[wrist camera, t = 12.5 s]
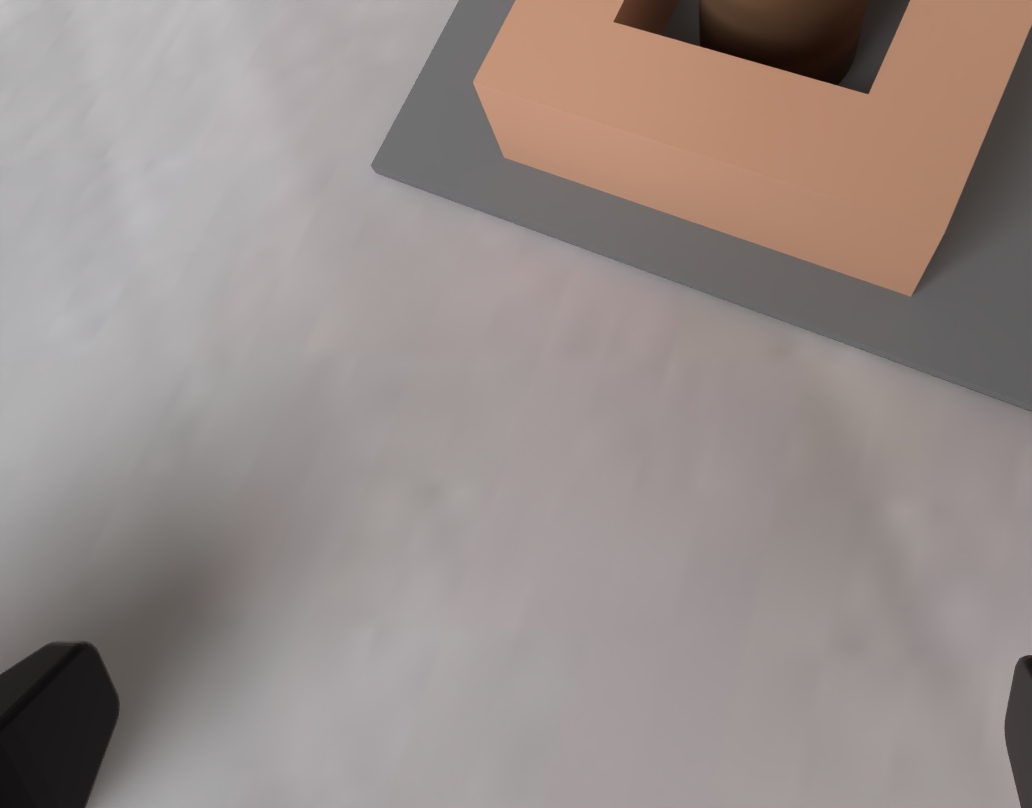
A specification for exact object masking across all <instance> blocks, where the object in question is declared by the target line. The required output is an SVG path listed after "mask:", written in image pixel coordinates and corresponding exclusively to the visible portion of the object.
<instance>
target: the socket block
mask: <svg viewBox="0 0 1032 808" xmlns="http://www.w3.org/2000/svg"><path fill="white" fill-rule="evenodd" d="M677 2H678V0H515V2H514V4H513V6H512V8H511V10H510V12H509V14H508V16H507V18H506V19H505V21H504V23H503V25H502V27H501V29H500V31H499V33H498V35H497V37H496V39H495V41H494V42H493V44H492V46H491V48H490V50H489V52H488V54H487V56H486V58H485V60H484V62H483V63H482V65H481V67H480V69H479V71H478V73H477V75H476V77H475V79H474V81H473V84H474V87H475V89H476V91H477V94H478V96H479V99H480V101H481V103H482V106H483V108H484V111H485V113H486V115H487V118H488V120H489V123H490V125H491V127H492V130H493V132H494V135H495V137H496V139H497V142H498V144H499V147H500V149H501V151H502V154H503V156H504V158H507V159H510V160H513V161H516V162H519V163H521V164H524V165H527V166H530V167H533V168H536V169H539V170H542V171H545V172H548V173H551V174H554V175H557V176H559V177H562V178H565V179H568V180H571V181H574V182H577V183H580V184H583V185H586V186H589V187H592V188H594V189H597V190H600V191H603V192H606V193H609V194H612V195H615V196H618V197H621V198H624V199H627V200H630V201H632V202H635V203H638V204H641V205H644V206H647V207H650V208H653V209H656V210H659V211H662V212H665V213H668V214H670V215H673V216H676V217H679V218H682V219H685V220H688V221H691V222H694V223H697V224H700V225H703V226H706V227H708V228H711V229H714V230H717V231H720V232H723V233H726V234H729V235H732V236H735V237H738V238H741V239H744V240H746V241H749V242H752V243H755V244H758V245H761V246H764V247H767V248H770V249H773V250H776V251H779V252H782V253H784V254H787V255H790V256H793V257H796V258H799V259H802V260H805V261H808V262H811V263H814V264H817V265H820V266H822V267H825V268H828V269H831V270H834V271H837V272H840V273H843V274H846V275H849V276H852V277H855V278H858V279H860V280H863V281H866V282H869V283H872V284H875V285H878V286H881V287H884V288H887V289H890V290H893V291H896V292H898V293H901V294H904V295H907V296H910V297H911V296H912V294H913V292H914V290H915V288H916V286H917V284H918V282H919V281H920V279H921V277H922V275H923V273H924V271H925V269H926V267H927V265H928V263H929V262H930V260H931V258H932V256H933V254H934V252H935V250H936V248H937V246H938V245H939V243H940V241H941V239H942V237H943V235H944V233H945V231H946V229H947V226H948V224H949V221H950V219H951V217H952V214H953V212H954V209H955V207H956V205H957V202H958V200H959V197H960V195H961V193H962V190H963V188H964V185H965V183H966V181H967V178H968V176H969V174H970V171H971V169H972V166H973V164H974V162H975V159H976V157H977V154H978V152H979V150H980V147H981V145H982V142H983V140H984V138H985V135H986V133H987V130H988V128H989V126H990V123H991V121H992V118H993V116H994V114H995V111H996V109H997V107H998V104H999V102H1000V99H1001V97H1002V95H1003V92H1004V90H1005V87H1006V85H1007V83H1008V80H1009V78H1010V75H1011V73H1012V71H1013V68H1014V66H1015V63H1016V61H1017V59H1018V56H1019V54H1020V52H1021V49H1022V47H1023V44H1024V42H1025V40H1026V37H1027V35H1028V32H1029V30H1030V28H1031V25H1032V0H910V2H909V4H908V7H907V9H906V11H905V13H904V16H903V18H902V20H901V22H900V25H899V27H898V29H897V31H896V34H895V36H894V38H893V40H892V43H891V45H890V47H889V49H888V52H887V54H886V56H885V58H884V61H883V63H882V65H881V67H880V70H879V72H878V74H877V76H876V79H875V81H874V83H873V85H872V88H871V90H870V92H869V94H865V93H862V92H858V91H854V90H851V89H847V88H844V87H840V86H837V85H833V84H830V83H826V82H823V81H819V80H816V79H812V78H809V77H805V76H802V75H798V74H795V73H791V72H788V71H784V70H781V69H777V68H773V67H770V66H766V65H763V64H759V63H756V62H752V61H749V60H745V59H742V58H738V57H735V56H731V55H728V54H724V53H721V52H717V51H714V50H710V49H707V48H703V47H700V46H696V45H692V44H689V43H685V42H682V41H678V40H675V39H671V38H668V37H664V36H661V35H662V33H663V31H664V29H665V27H666V25H667V23H668V21H669V19H670V17H671V15H672V13H673V11H674V9H675V6H676V4H677Z"/></svg>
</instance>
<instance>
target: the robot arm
mask: <svg viewBox="0 0 1032 808" xmlns="http://www.w3.org/2000/svg"><path fill="white" fill-rule="evenodd" d="M118 715H119V697H118V694H117V691H116V689H115V687H114V684H113V682H112V680H111V678H110V676H109V673H108V671H107V669H106V667H105V665H104V662H103V660H102V658H101V656H100V653H99V651H98V650H97V648H96V647H95V646H94V645H92V644H91V643H89V642H86V641H56V642H51V643H49V644H47V645H45V646H44V647H42V648H40V649H39V650H37V651H36V652H34V653H33V654H31V655H30V656H28V657H26V658H25V659H23V660H22V661H20V662H19V663H17V664H16V665H14V666H13V667H11V668H9V669H8V670H6V671H5V672H3V673H2V674H0V808H86V805H87V802H88V799H89V797H90V794H91V791H92V789H93V786H94V783H95V780H96V778H97V775H98V772H99V769H100V767H101V764H102V761H103V759H104V756H105V753H106V750H107V748H108V745H109V742H110V740H111V737H112V734H113V731H114V729H115V726H116V723H117V720H118ZM1005 740H1006V746H1007V751H1008V755H1009V759H1010V763H1011V767H1012V772H1013V776H1014V780H1015V784H1016V788H1017V792H1018V796H1019V801H1020V805H1021V808H1032V655H1027V656H1024V657H1022V658H1020V659H1019V660H1018V662H1017V664H1016V666H1015V670H1014V675H1013V681H1012V686H1011V691H1010V696H1009V701H1008V706H1007V712H1006V717H1005Z"/></svg>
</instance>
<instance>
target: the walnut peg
mask: <svg viewBox="0 0 1032 808" xmlns="http://www.w3.org/2000/svg"><path fill="white" fill-rule="evenodd" d="M867 2H868V0H699V39H700V47H703V48H707V49H710V50H714V51H717V52H721V53H724V54H728V55H731V56H735V57H738V58H742V59H745V60H749V61H752V62H756V63H759V64H763V65H766V66H770V67H773V68H777V69H781V70H784V71H788V72H791V73H795V74H798V75H802V76H805V77H809V78H812V79H816V80H819V81H823V82H826V83H830V84H833V85H838V84H839V83H840V82H841V81H842V80H843V78H844V77H845V76H846V74H847V73H848V71H849V69H850V68H851V65H852V63H853V61H854V58H855V54H856V50H857V46H858V42H859V37H860V33H861V29H862V24H863V20H864V16H865V11H866V7H867Z"/></svg>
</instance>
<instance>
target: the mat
mask: <svg viewBox="0 0 1032 808" xmlns="http://www.w3.org/2000/svg"><path fill="white" fill-rule="evenodd" d="M514 2H515V0H459V2H458V3H457V5H456V7H455V9H454V11H453V13H452V15H451V16H450V18H449V20H448V22H447V24H446V26H445V28H444V30H443V31H442V33H441V35H440V37H439V39H438V41H437V43H436V45H435V46H434V48H433V50H432V52H431V54H430V56H429V58H428V60H427V61H426V63H425V65H424V67H423V69H422V71H421V73H420V74H419V76H418V78H417V80H416V82H415V84H414V86H413V88H412V89H411V91H410V93H409V95H408V97H407V99H406V101H405V103H404V104H403V106H402V108H401V110H400V112H399V114H398V116H397V118H396V119H395V121H394V123H393V125H392V127H391V129H390V131H389V132H388V134H387V136H386V138H385V140H384V142H383V144H382V146H381V147H380V149H379V151H378V153H377V155H376V157H375V159H374V161H373V162H372V164H371V167H372V168H373V169H374V171H375V172H376V173H378V174H381V175H384V176H386V177H389V178H392V179H395V180H397V181H400V182H403V183H406V184H408V185H411V186H414V187H417V188H419V189H422V190H425V191H428V192H430V193H433V194H436V195H439V196H441V197H444V198H447V199H450V200H452V201H455V202H458V203H461V204H463V205H466V206H469V207H472V208H474V209H477V210H480V211H483V212H485V213H488V214H491V215H494V216H496V217H499V218H502V219H505V220H507V221H510V222H513V223H516V224H518V225H521V226H524V227H527V228H529V229H532V230H535V231H538V232H540V233H543V234H546V235H549V236H551V237H554V238H557V239H560V240H562V241H565V242H568V243H571V244H573V245H576V246H579V247H582V248H584V249H587V250H590V251H593V252H595V253H598V254H601V255H604V256H606V257H609V258H612V259H615V260H617V261H620V262H623V263H626V264H628V265H631V266H634V267H637V268H639V269H642V270H645V271H648V272H650V273H653V274H656V275H659V276H661V277H664V278H667V279H670V280H672V281H675V282H678V283H681V284H683V285H686V286H689V287H692V288H694V289H697V290H700V291H703V292H705V293H708V294H711V295H714V296H716V297H719V298H722V299H725V300H727V301H730V302H733V303H736V304H738V305H741V306H744V307H747V308H749V309H752V310H755V311H758V312H760V313H763V314H766V315H769V316H771V317H774V318H777V319H779V320H782V321H785V322H788V323H790V324H793V325H796V326H799V327H801V328H804V329H807V330H810V331H812V332H815V333H818V334H821V335H823V336H826V337H829V338H832V339H834V340H837V341H840V342H843V343H845V344H848V345H851V346H854V347H856V348H859V349H862V350H865V351H867V352H870V353H873V354H876V355H878V356H881V357H884V358H887V359H889V360H892V361H895V362H898V363H900V364H903V365H906V366H909V367H911V368H914V369H917V370H920V371H922V372H925V373H928V374H931V375H933V376H936V377H939V378H942V379H944V380H947V381H950V382H953V383H955V384H958V385H961V386H964V387H966V388H969V389H972V390H975V391H977V392H980V393H983V394H986V395H988V396H991V397H994V398H997V399H999V400H1002V401H1005V402H1008V403H1010V404H1013V405H1016V406H1019V407H1021V408H1024V409H1027V410H1030V411H1032V25H1031V28H1030V30H1029V32H1028V35H1027V37H1026V40H1025V42H1024V44H1023V47H1022V49H1021V52H1020V54H1019V56H1018V59H1017V61H1016V63H1015V66H1014V68H1013V71H1012V73H1011V75H1010V78H1009V80H1008V83H1007V85H1006V87H1005V90H1004V92H1003V95H1002V97H1001V99H1000V102H999V104H998V107H997V109H996V111H995V114H994V116H993V118H992V121H991V123H990V126H989V128H988V130H987V133H986V135H985V138H984V140H983V142H982V145H981V147H980V150H979V152H978V154H977V157H976V159H975V162H974V164H973V166H972V169H971V171H970V174H969V176H968V178H967V181H966V183H965V185H964V188H963V190H962V193H961V195H960V197H959V200H958V202H957V205H956V207H955V209H954V212H953V214H952V217H951V219H950V221H949V224H948V226H947V229H946V231H945V233H944V235H943V237H942V239H941V241H940V243H939V245H938V246H937V248H936V250H935V252H934V254H933V256H932V258H931V260H930V262H929V263H928V265H927V267H926V269H925V271H924V273H923V275H922V277H921V279H920V281H919V282H918V284H917V286H916V288H915V290H914V292H913V294H912V296H911V297H910V296H907V295H904V294H901V293H898V292H896V291H893V290H890V289H887V288H884V287H881V286H878V285H875V284H872V283H869V282H866V281H863V280H860V279H858V278H855V277H852V276H849V275H846V274H843V273H840V272H837V271H834V270H831V269H828V268H825V267H822V266H820V265H817V264H814V263H811V262H808V261H805V260H802V259H799V258H796V257H793V256H790V255H787V254H784V253H782V252H779V251H776V250H773V249H770V248H767V247H764V246H761V245H758V244H755V243H752V242H749V241H746V240H744V239H741V238H738V237H735V236H732V235H729V234H726V233H723V232H720V231H717V230H714V229H711V228H708V227H706V226H703V225H700V224H697V223H694V222H691V221H688V220H685V219H682V218H679V217H676V216H673V215H670V214H668V213H665V212H662V211H659V210H656V209H653V208H650V207H647V206H644V205H641V204H638V203H635V202H632V201H630V200H627V199H624V198H621V197H618V196H615V195H612V194H609V193H606V192H603V191H600V190H597V189H594V188H592V187H589V186H586V185H583V184H580V183H577V182H574V181H571V180H568V179H565V178H562V177H559V176H557V175H554V174H551V173H548V172H545V171H542V170H539V169H536V168H533V167H530V166H527V165H524V164H521V163H519V162H516V161H513V160H510V159H507V158H504V156H503V154H502V151H501V149H500V147H499V144H498V142H497V139H496V137H495V135H494V132H493V130H492V127H491V125H490V123H489V120H488V118H487V115H486V113H485V111H484V108H483V106H482V103H481V101H480V99H479V96H478V94H477V91H476V89H475V87H474V84H473V81H474V79H475V77H476V75H477V73H478V71H479V69H480V67H481V65H482V63H483V62H484V60H485V58H486V56H487V54H488V52H489V50H490V48H491V46H492V44H493V42H494V41H495V39H496V37H497V35H498V33H499V31H500V29H501V27H502V25H503V23H504V21H505V19H506V18H507V16H508V14H509V12H510V10H511V8H512V6H513V4H514ZM909 2H910V0H868V2H867V7H866V11H865V16H864V20H863V24H862V29H861V33H860V37H859V42H858V46H857V50H856V54H855V58H854V61H853V63H852V65H851V68H850V69H849V71H848V73H847V74H846V76H845V77H844V78H843V80H842V81H841V82H840V83H839V84H838V85H837V86H840V87H844V88H847V89H851V90H854V91H858V92H862V93H865V94H869V92H870V90H871V88H872V85H873V83H874V81H875V79H876V76H877V74H878V72H879V70H880V67H881V65H882V63H883V61H884V58H885V56H886V54H887V52H888V49H889V47H890V45H891V43H892V40H893V38H894V36H895V34H896V31H897V29H898V27H899V25H900V22H901V20H902V18H903V16H904V13H905V11H906V9H907V7H908V4H909ZM661 36H664V37H668V38H671V39H675V40H678V41H682V42H685V43H689V44H692V45H696V46H700V39H699V0H678V2H677V4H676V6H675V9H674V11H673V13H672V15H671V17H670V19H669V21H668V23H667V25H666V27H665V29H664V31H663V33H662V35H661Z"/></svg>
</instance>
